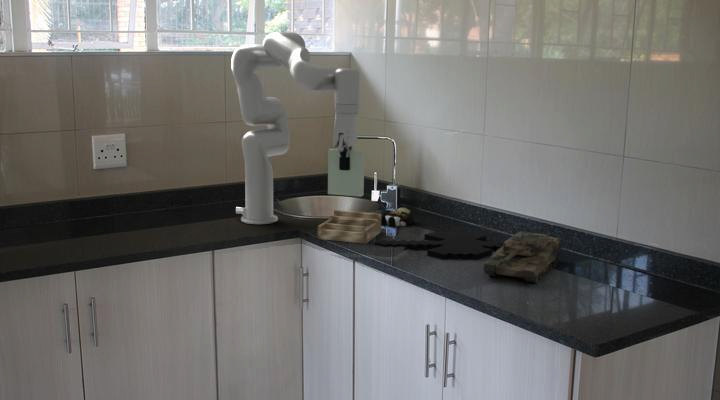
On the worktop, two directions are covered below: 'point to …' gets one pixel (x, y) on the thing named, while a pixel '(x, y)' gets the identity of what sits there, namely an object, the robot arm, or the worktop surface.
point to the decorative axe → (449, 245)
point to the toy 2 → (525, 256)
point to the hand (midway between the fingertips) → (345, 168)
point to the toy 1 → (397, 217)
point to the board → (346, 174)
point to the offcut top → (351, 221)
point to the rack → (350, 227)
